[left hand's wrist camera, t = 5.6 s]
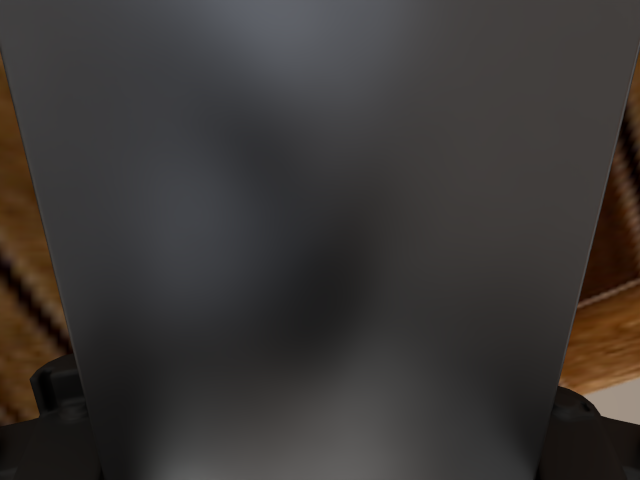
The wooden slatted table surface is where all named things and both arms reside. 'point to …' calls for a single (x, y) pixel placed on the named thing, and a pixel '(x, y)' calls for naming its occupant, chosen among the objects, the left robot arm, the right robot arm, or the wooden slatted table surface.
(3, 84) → the wooden slatted table surface
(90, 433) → the left robot arm
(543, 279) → the box
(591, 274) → the wooden slatted table surface
